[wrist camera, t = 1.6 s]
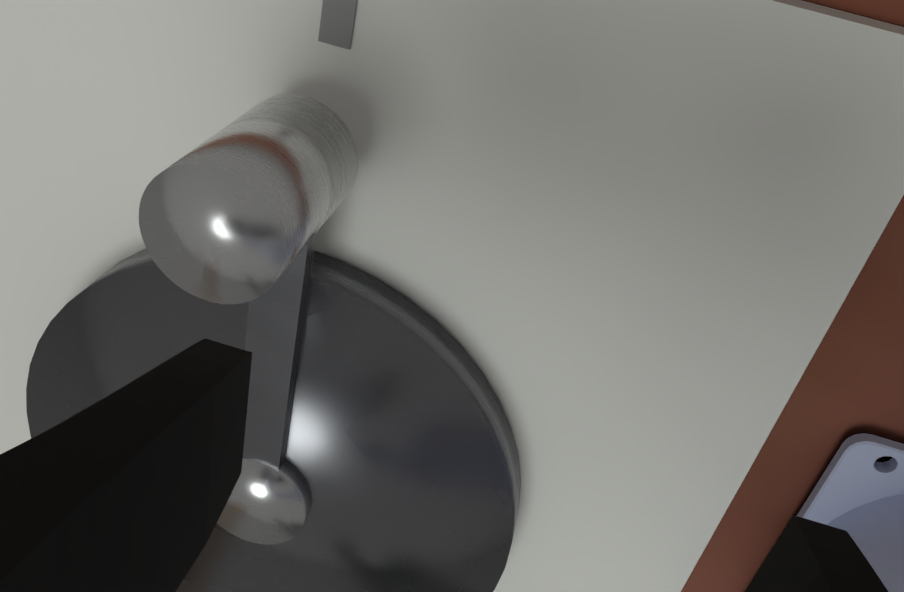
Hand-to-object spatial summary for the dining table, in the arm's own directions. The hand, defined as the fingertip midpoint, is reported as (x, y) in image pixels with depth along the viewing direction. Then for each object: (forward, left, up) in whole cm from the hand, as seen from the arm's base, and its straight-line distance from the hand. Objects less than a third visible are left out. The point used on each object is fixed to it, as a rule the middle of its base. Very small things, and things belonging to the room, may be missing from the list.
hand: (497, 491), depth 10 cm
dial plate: (+7, +9, -10) cm, 15 cm away
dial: (+6, +8, -9) cm, 14 cm away
